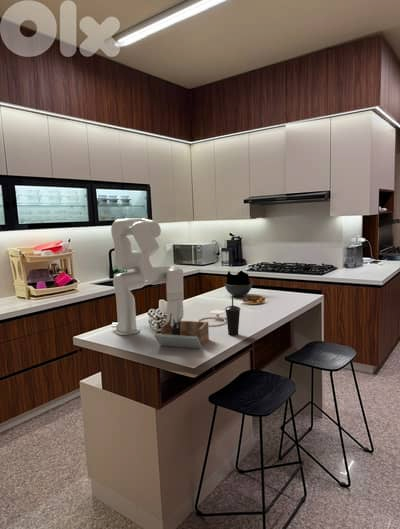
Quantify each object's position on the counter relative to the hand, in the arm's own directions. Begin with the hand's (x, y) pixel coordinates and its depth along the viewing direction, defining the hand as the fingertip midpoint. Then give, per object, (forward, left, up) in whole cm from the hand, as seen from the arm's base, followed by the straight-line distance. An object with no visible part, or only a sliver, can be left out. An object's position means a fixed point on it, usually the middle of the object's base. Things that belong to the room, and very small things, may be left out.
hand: (176, 335), depth 166 cm
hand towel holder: (+4, +47, -7) cm, 48 cm away
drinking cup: (+20, +26, -7) cm, 34 cm away
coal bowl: (+6, +112, -7) cm, 113 cm away
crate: (0, +10, -7) cm, 12 cm away
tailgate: (0, +4, -6) cm, 7 cm away
